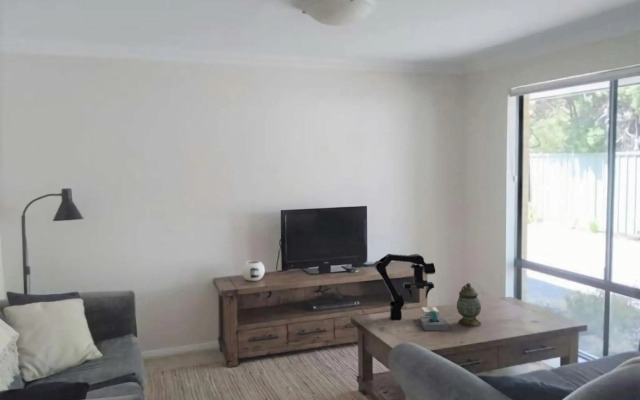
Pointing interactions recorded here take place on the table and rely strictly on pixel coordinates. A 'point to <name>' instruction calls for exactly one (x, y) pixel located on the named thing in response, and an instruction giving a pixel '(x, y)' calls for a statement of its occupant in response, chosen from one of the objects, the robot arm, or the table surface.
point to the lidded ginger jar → (468, 306)
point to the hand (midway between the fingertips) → (418, 298)
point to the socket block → (434, 323)
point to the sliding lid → (428, 310)
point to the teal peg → (433, 316)
